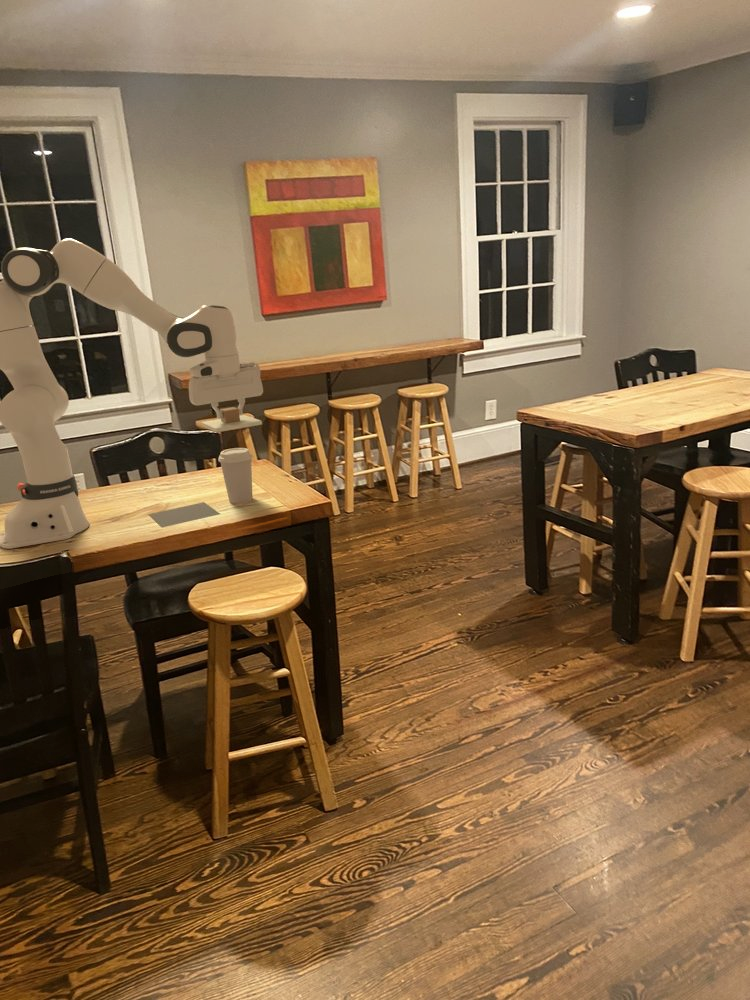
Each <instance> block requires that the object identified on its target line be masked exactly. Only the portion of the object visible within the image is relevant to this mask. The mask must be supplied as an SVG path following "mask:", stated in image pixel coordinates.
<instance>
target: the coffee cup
mask: <svg viewBox="0 0 750 1000" xmlns="http://www.w3.org/2000/svg"><path fill="white" fill-rule="evenodd" d="M252 458H253V454H252V453H251V452H250V450H249V448H245V447H234V448H228V449H224V450H222V451H221V452H220V454H219V455H218V462H219V463H220V466H221V471H222V475H223V479H224V484H225V488H226V491H227V492H226V493H227V497H228V502H229V503H230V504H233V505H239V504H247V503H249V502H251V501H253V496H254V495H253V476H252V475H253V473H252V472H253V471H252Z"/></svg>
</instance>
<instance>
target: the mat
mask: <svg viewBox="0 0 750 1000" xmlns="http://www.w3.org/2000/svg"><path fill="white" fill-rule="evenodd" d="M217 515H221V513H220V512H219V511H217V510H216V509H214V507H212V506H210V505H209V504H208V503H206V502H205V501H203V502H198V503H193V504H190V505H189V504H188V505H184V506H180V507H174V508H172V509H167V510H163V511H162V510H161V511H158V512H153V513H148V516H149V517H150V518H151V519H152V521H154V522H155V523H157V525H159V527H160V528H167V527H169V526H174V525H180V524H183V523H186V522H191V521H197V520H199V519H204V518H208V517H213V516H217Z"/></svg>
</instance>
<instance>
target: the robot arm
mask: <svg viewBox="0 0 750 1000" xmlns="http://www.w3.org/2000/svg"><path fill="white" fill-rule="evenodd" d="M0 269H1V270H0V272H1V275H2V280H1V281H0V371H2V372H3V374H4V375H5V376H6V377H7V379H8V381H9V382H10V385H11V386H12V388H13V390H11V391H10V392H9V393H7V394H6V395H5V396H4V397H3V398H2V400H1V401H0V424H1V425H2V427H4V429H6V430H8V431H9V433H10V435H11V436H12V439H13V440H14V442H15V444H16V446H17V448H18V450H19V453H20V456H21V459H22V463H23V467H24V468H23V469H24V471H25V472H24V473H25V476H26V481H27V482H26V483H23V482H19V483H18V484H17V486H16V488H17V490H18V491H19V492H20V494H21V497H22V498H21V500H19V501H18V502H17V503H16V505H14V506H13V507H12V508H11V510H10V511H8V513H7V514H6V516H5V518H4V524H3V525H4V527H3V528H4V531H3V532H1V533H0V547H1V548H3V549H7V550H8V549H9V550H10V549H14V548H15V549H17V548H22V547H27V546H33V545H39V544H46V543H51V542H58V541H64V540H68V539H71V538H72V537H73V536H75V535H77V534H79V533H81V532H83V531H85V530H86V529H88V527H90V522H89V521H88V519H87V517H86V515H85V513H84V510H83V507H82V505H81V501H80V498H79V487H78V483H77V482H78V481H77V479H76V477H75V475H74V474H73V469H72V464H71V459H70V454H69V451H68V447H67V445H66V444H65V443H64V442H63V441H62V439H61V437H60V435H59V433H58V431H57V429H56V425H55V422H56V421H58V420H59V419H61V418H62V417H63V415H64V414H65V412H66V411H67V409H68V406H69V403H70V401H69V395H68V393H67V391H66V390H65V389H64V388H63V386H61V384H59V382H58V380H57V378H56V376H55V374H54V373H53V371H52V369H51V368H50V366H49V363H48V362H47V360H46V358H45V355H44V353H43V349H42V345H41V343H40V340H39V338H38V337H39V336H38V334H37V331H36V328H35V325H34V321H33V318H32V315H31V311H30V302H31V301H33V300H35V299H37V298H39V297H41V296H43V295H45V294H46V293H48V292H50V290H52V289H53V287H54V286H55V284H64V285H66V286H68V287H71V288H72V289H73V290H75V291H77V292H78V293H79V294H81V295H82V296H84V297H86V298H87V299H89V300H90V301H92V302H94V303H96V304H97V305H99V306H102V307H103V308H107V309H109V310H113V311H117V312H121V313H125V314H127V315H130V316H132V317H134V318H136V319H137V320H139V321H141V323H144V324H145V325H146V326H148V327H149V328H151V329H152V330H154V331H155V332H157V333H158V334H160V336H161V337H162V338H163V339H164V341H165V342H166V344H167V346H168V348H169V350H171V352H172V353H174V354H175V355H176V356H178V357H181V358H184V359H185V358H188V359H189V358H192V357H196V356H198V355H201V354H204V357H205V360H204V361H202V362H200V363H198V364H196V365H194V366H191V367H190V368H189V375H190V376H192V377H190V378H189V381H188V398H189V402H190V403H191V404H192V405H194V406H203V405H209V404H211V407H212V409H213V410H214V411H215V413H216V418H217V419H221V418H224V413H223V411H220V409H219V408H218V407H220V405H219V403H221V402H227V401H235V400H237V402H238V403H239V404H238V406H237V408H238V409H239V416H241V415H244V413H243V409H244V406H245V403H246V398H253V397H259V396H262V394H264V387H263V386H264V385H263V383H262V379H261V367H260V366H259V364H257V363H255V362H252V361H251V362H248V363H240V357H239V351H238V349H237V344H236V343H237V342H236V341H237V333H236V326H235V322H234V317H233V314H232V312H231V310H230V309H229V308H227V307H225V306H223V305H216V304H203V305H201V306H200V308H199V309H197V310H196V311H194V312H193V313H192V314H190V315H188V316H186V317H181V316H178V315H175V314H173V313H171V312H169V311H168V310H166V309H165V308H164V307H162V306H161V305H160V304H158V303H157V302H155V301H154V300H152V299H151V298H150V297H148V295H145V293H143V292H142V291H141V289H140V288H139V287H138V286H137V285H136V284H135V282H134V281H133V279H132V278H131V277H130V276H129V275H128V274H127V273H126V272H125V271H124V270H123V269H121V268H120V266H119V265H117V264H116V263H115V262H113V261H112V260H111V259H109V258H108V257H106V256H105V255H104V254H102V253H101V252H99V251H97V250H96V249H94V248H92V247H90V246H89V245H87V244H84V243H83V242H80V241H78V240H76V239H73V238H64V239H62V240H60V241H58V242H57V243H56V244H55V245H54V246H53V248H51V250H50V251H49V250H44V249H37V248H32V247H16V248H14V249H12V250H10V251H8V252H7V253H6V254H5V256H3V259H2V261H1V265H0Z"/></svg>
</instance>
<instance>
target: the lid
mask: <svg viewBox="0 0 750 1000" xmlns="http://www.w3.org/2000/svg"><path fill="white" fill-rule="evenodd" d="M219 411H223V413H224V418H221V419H218V418H217V419H213V420H206V421H205V420H204V421H201V422H200V425H201V427H204V428H205V429H207V430H210V431H212V432H215V433H220V432H227V431H228V432H229V431H231V430H232V431H233V430H237V429H238V430H239V429H243V428H244V429H245V428H249V427H255V426H260V425H263V420H261V419H258V418H255V417H251V416H249V415H246V414H243V415H239V409H238V407H234V406H232V407H231V406H230V407H226V408H220V409H219Z"/></svg>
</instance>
